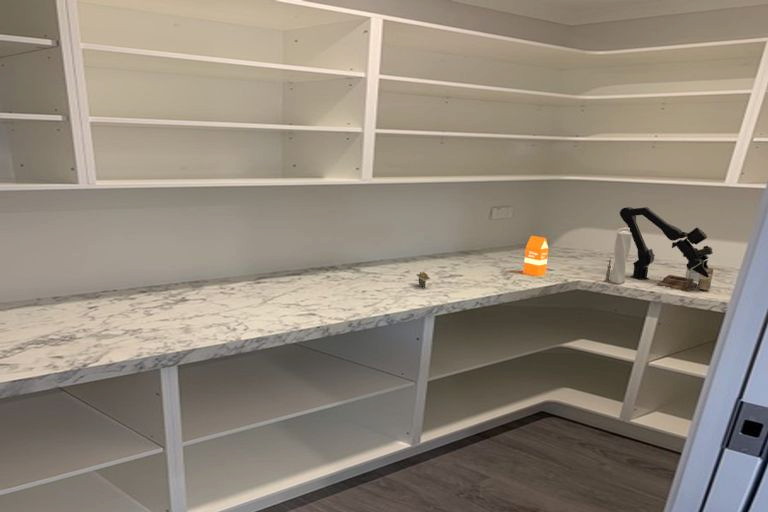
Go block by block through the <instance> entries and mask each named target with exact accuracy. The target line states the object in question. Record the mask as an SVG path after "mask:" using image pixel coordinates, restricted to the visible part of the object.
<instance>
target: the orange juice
mask: <svg viewBox="0 0 768 512" xmlns="http://www.w3.org/2000/svg"><path fill="white" fill-rule="evenodd" d="M524 255H525V256H524V266H523V274H525V273H526V274H525V275H529V274H530V275H531V276H533V275H534V276H535V277H537V276H538V277H541V276H546V274H547V273H546V272H547V265H548V264H547V263H548V257H549V256H548V255H549V245H548V242H547V238H546V237H542V236H536V235H531V236H530V238H529V240H528V242H527V244H526V246H525V253H524ZM530 275H529V276H530Z"/></svg>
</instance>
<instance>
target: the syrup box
mask: <svg viewBox="0 0 768 512" xmlns="http://www.w3.org/2000/svg"><path fill="white" fill-rule="evenodd" d="M688 262H689V261H688V260H687V263H688ZM693 268H694V267H693ZM693 268H691V269H693ZM691 269H688V268H687V267H686V271H685V278H690V279H693V282H697V281H699V278H700V274H699V273H698V272H696V271H694V270H691Z"/></svg>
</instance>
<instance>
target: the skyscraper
mask: <svg viewBox="0 0 768 512" xmlns="http://www.w3.org/2000/svg"><path fill="white" fill-rule="evenodd" d="M624 229H627V230H624ZM632 238H633V237H632V233H631V232H630V228H628V227H621V228H619V229H617V232H616V235H615V241H614V247H613V258H614V261H613V262H614V263H613V266H611V262H612V261H611V257H610V258H609V260H608V265H607V271H606V274H605V276H606V277H605V280H604V282H605V283H610V284H613V285H622V284H625V282H626V261H627V259H628V257H629V253H630V249H631V245H632ZM611 267H612V270H611Z"/></svg>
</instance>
